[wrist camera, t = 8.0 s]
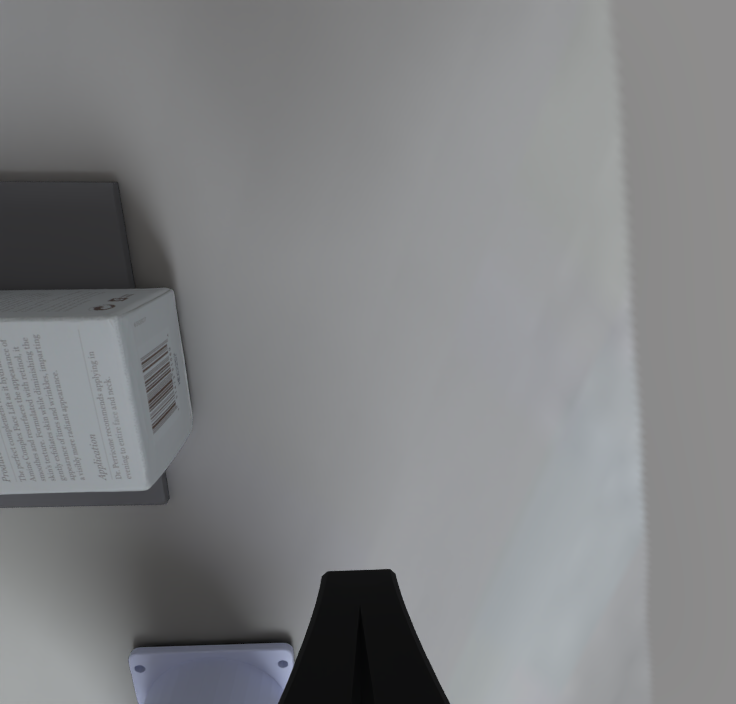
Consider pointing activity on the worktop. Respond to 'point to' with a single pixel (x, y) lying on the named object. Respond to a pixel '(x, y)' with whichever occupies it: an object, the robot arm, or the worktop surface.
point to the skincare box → (90, 389)
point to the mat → (67, 278)
